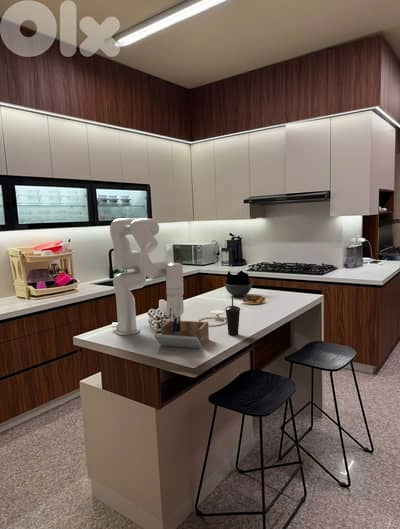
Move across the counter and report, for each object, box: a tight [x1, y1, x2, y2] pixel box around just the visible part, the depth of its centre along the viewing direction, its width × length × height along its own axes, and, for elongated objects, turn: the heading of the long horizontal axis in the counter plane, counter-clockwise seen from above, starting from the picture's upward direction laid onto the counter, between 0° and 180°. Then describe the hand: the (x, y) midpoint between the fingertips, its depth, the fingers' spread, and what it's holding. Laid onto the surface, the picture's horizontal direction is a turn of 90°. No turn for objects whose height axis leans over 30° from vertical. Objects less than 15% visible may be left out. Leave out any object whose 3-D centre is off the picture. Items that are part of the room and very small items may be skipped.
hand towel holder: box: [196, 309, 227, 328], centre depth 210 cm, size 17×4×21 cm
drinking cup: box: [224, 295, 241, 337], centre depth 184 cm, size 8×8×20 cm
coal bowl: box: [224, 270, 253, 298], centre depth 270 cm, size 20×20×19 cm
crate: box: [160, 319, 210, 348], centre depth 176 cm, size 20×11×9 cm, turn 73°
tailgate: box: [154, 333, 203, 349], centre depth 167 cm, size 20×1×9 cm
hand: (176, 331), depth 165 cm, fingers closed
